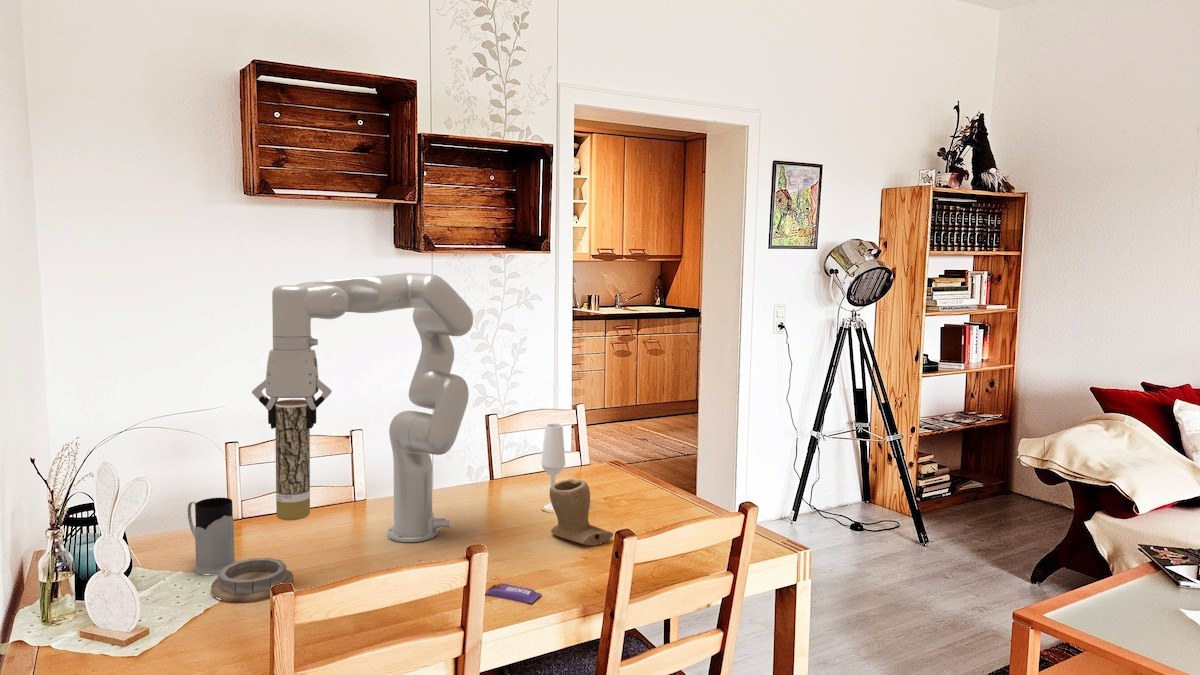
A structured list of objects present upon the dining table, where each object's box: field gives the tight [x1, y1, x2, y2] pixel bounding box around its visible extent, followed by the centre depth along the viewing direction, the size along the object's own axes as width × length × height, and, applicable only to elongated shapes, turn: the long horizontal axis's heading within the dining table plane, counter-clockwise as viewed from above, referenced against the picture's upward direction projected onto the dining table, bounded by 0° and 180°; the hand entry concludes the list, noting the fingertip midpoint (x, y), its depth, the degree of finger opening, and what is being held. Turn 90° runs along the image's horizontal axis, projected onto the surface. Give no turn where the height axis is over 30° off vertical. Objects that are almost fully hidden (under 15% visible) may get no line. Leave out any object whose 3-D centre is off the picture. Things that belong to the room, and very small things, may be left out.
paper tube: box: [274, 398, 311, 522], centre depth 172 cm, size 7×7×25 cm
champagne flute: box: [540, 423, 566, 510], centre depth 225 cm, size 7×7×24 cm
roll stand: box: [210, 557, 294, 604], centre depth 171 cm, size 16×16×4 cm
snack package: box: [485, 583, 543, 604], centre depth 170 cm, size 12×2×5 cm
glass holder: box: [187, 497, 237, 575], centre depth 181 cm, size 9×14×15 cm, turn 58°
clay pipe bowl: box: [549, 478, 614, 546], centre depth 203 cm, size 15×12×15 cm
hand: (292, 426), depth 171 cm, fingers closed on paper tube, 6 cm apart
